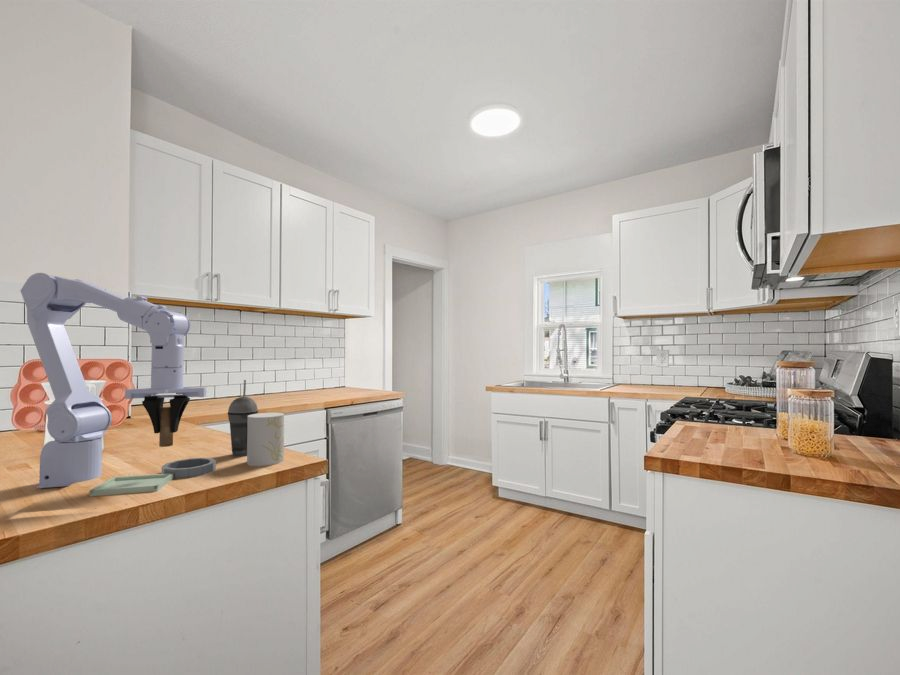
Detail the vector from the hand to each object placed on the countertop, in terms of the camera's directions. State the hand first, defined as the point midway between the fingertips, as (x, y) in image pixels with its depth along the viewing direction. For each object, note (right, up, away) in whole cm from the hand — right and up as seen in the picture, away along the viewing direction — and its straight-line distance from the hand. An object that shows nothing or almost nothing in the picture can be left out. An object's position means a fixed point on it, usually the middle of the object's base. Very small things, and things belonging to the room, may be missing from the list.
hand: (166, 432), depth 92 cm
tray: (-2, -10, -6) cm, 12 cm away
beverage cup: (+6, -11, +21) cm, 25 cm away
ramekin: (+2, -11, +4) cm, 12 cm away
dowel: (0, -3, 0) cm, 3 cm away
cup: (+15, -11, +13) cm, 23 cm away
